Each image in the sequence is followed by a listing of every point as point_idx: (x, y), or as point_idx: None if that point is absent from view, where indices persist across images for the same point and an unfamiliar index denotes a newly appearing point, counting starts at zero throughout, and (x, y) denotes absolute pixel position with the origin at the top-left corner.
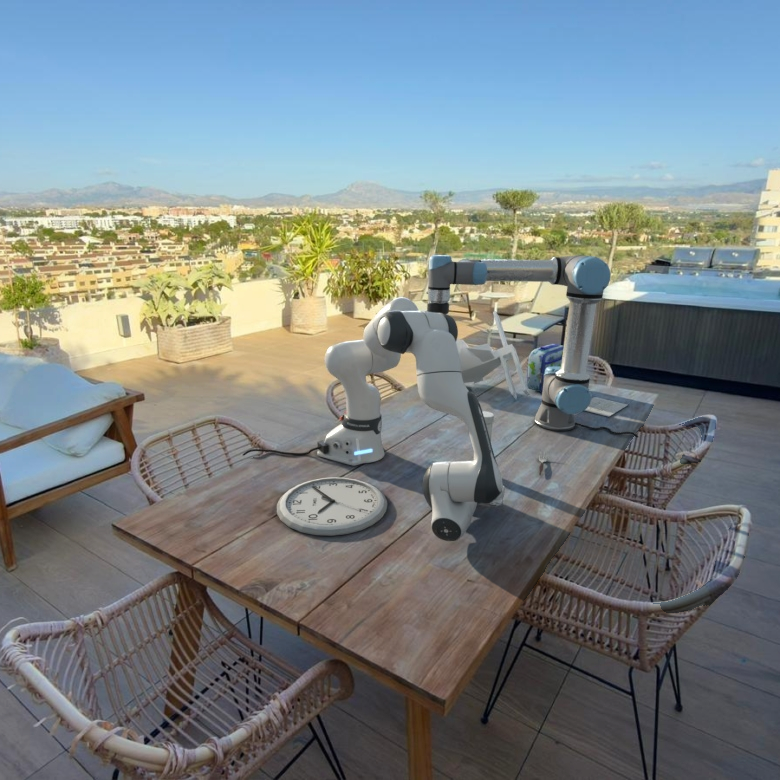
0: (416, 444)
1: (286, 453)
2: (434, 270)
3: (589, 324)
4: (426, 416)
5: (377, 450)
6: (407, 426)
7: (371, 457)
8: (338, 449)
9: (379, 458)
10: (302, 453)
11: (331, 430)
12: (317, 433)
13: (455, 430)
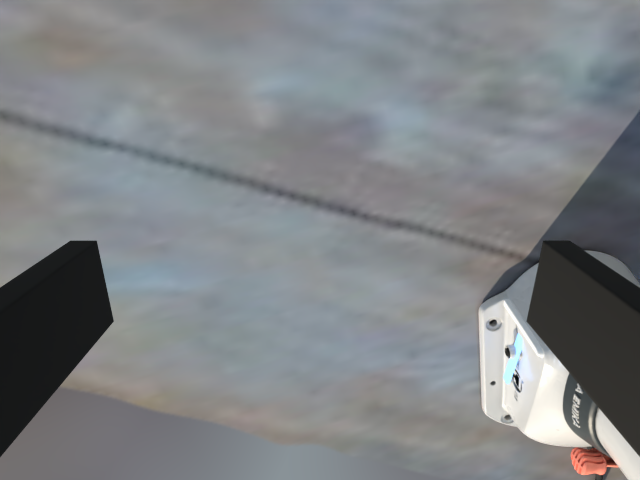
0: (446, 175)
1: (602, 477)
2: None
3: None
4: (143, 211)
5: (626, 275)
6: (282, 251)
7: (636, 279)
8: None
9: (609, 257)
10: (593, 447)
11: (583, 446)
12: (434, 464)
13: (248, 53)
